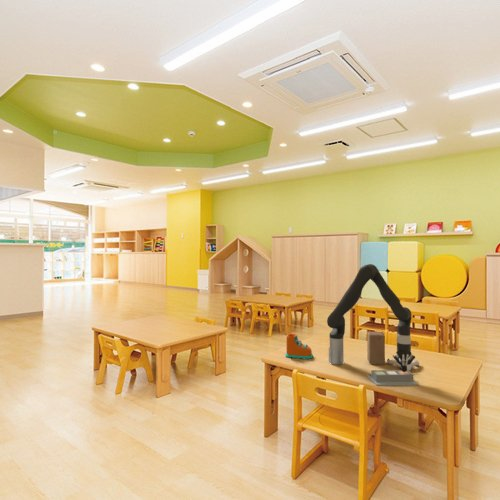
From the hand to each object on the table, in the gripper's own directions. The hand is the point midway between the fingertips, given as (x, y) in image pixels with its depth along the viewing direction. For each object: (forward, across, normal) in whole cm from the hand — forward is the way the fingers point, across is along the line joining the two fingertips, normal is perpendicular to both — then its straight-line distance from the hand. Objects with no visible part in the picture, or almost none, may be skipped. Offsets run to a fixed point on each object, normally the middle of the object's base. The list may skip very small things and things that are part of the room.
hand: (404, 371), depth 199 cm
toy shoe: (+5, -54, +47) cm, 72 cm away
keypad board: (+5, -7, 0) cm, 9 cm away
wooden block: (+5, -4, +32) cm, 33 cm away
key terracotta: (+3, 0, 0) cm, 3 cm away
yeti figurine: (+6, +11, +24) cm, 27 cm away
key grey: (+3, -7, 0) cm, 8 cm away
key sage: (+3, -14, 0) cm, 14 cm away
